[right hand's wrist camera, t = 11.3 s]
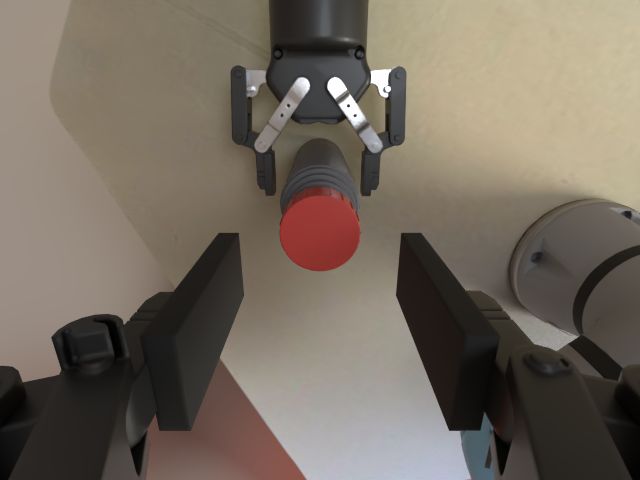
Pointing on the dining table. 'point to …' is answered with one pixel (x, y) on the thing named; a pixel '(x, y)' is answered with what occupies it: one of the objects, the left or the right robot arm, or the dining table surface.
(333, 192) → the cap
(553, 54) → the dining table surface
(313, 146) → the bottle
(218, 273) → the right robot arm
